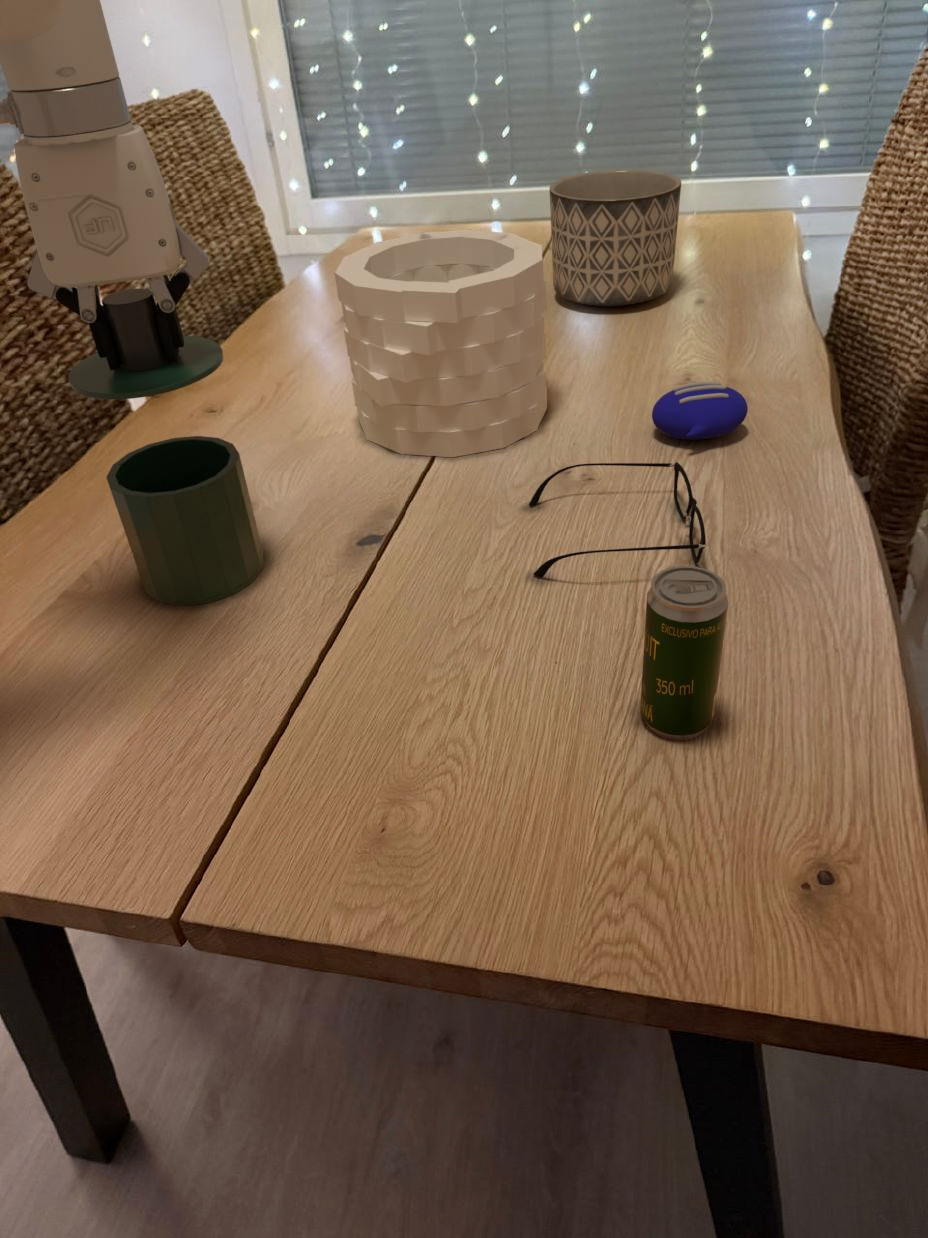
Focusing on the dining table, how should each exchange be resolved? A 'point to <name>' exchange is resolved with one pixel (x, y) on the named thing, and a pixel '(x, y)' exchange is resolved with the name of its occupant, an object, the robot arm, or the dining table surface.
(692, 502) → the eyeglasses
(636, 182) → the planter
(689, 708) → the green soda can
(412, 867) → the dining table surface
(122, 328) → the lid
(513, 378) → the basket
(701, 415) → the decorative object
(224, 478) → the canister
